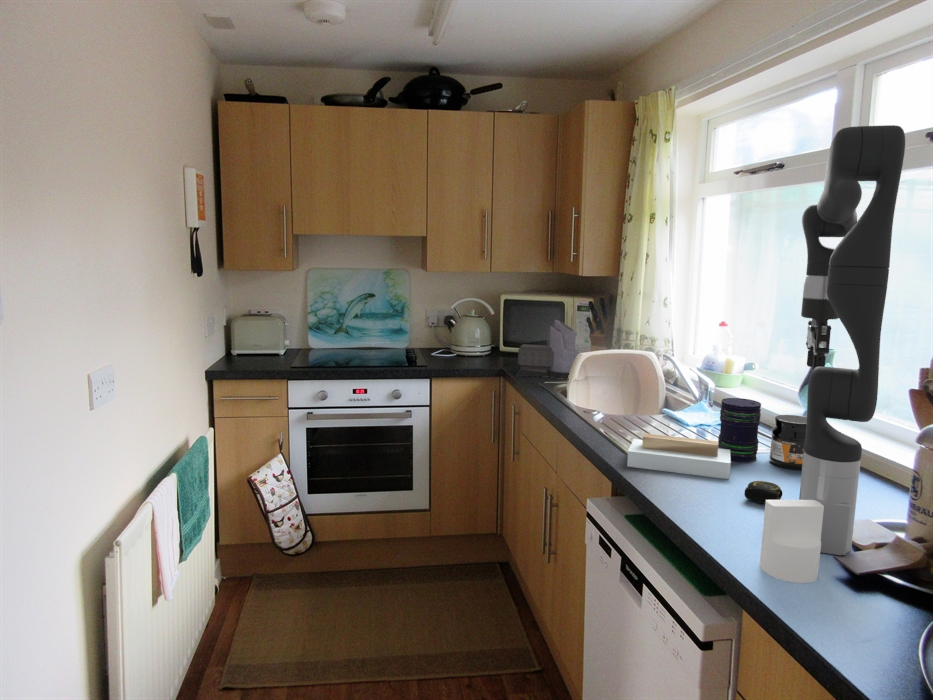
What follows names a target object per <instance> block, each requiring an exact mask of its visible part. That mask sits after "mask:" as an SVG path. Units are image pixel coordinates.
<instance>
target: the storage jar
mask: <svg viewBox="0 0 933 700" xmlns="http://www.w3.org/2000/svg"><path fill="white" fill-rule="evenodd" d="M761 408H762V403H761V402H760V401H758V400H754V399H748V398H741V397H739V398H738V397H729V398H728V397H727V398H722V399H721V405H720V413H719V415H720V416H719V421H720V430H719V431H720V432H719V434H718V437H717V438H718V448H720V449H729V450H730V458H731V463H732V462H733V463H744V464H745V463H748V464H749V463H754V462H756V461H757V460H758V459H757V455H758V451H759V439H758V433H759V425H760V423H761V415H762V413H761V410H762V409H761Z"/></svg>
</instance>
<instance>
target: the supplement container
mask: <svg viewBox="0 0 933 700" xmlns="http://www.w3.org/2000/svg"><path fill="white" fill-rule="evenodd" d="M773 422H774V426H773V427H772V428H771V431H770V432H771V438H770V440H771V441H770V448H769V449H770V451H769V457H768V458H769V461H770V462H771V463H772V464H773V465H775V466H778V467H780V468H784V469H788V470H789V469H790V470H796V471H797V470H799V471H802V465H803V454H804V444H805V435H806V424H807V416H802V415H797V414H796V415H795V414H778V415H776V416H775V417H774V421H773Z"/></svg>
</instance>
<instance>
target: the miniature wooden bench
mask: <svg viewBox="0 0 933 700" xmlns="http://www.w3.org/2000/svg"><path fill="white" fill-rule="evenodd" d="M642 440H643V442H642V448H646V449H653V450H663V451H672V452H680V453H689V454H697V455H705V456H714V457H717V455H718V441H719V440H718V441H717V440H709V439H701V438H700V439H699V438H692V437H691V438H690V437H682V436H672V435H665V434H663V435H662V434H653V433H646V432H644V433H643V435H642Z"/></svg>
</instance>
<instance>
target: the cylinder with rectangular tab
mask: <svg viewBox="0 0 933 700" xmlns="http://www.w3.org/2000/svg"><path fill="white" fill-rule="evenodd" d="M823 511H824V506H823V505H822V504H821V503H820V502H818V501H816V500H799V499H780V500H766V501H765V503H764V512H763V513H764V516H763V524H762V526H763V527H762V531H761V546H760V556H759V568H760V569H761V570H762V571H763V572H764V573H765V574H767V575H769V576H771V577H772V578H775V579H777V580H781V581H785V582H789V583H796V584H806V583H807V584H808V583H812V582H815V581H817V579H818V578H819V570H820V569H819V568H820V560H821V559H820V558H821V552H820V550H821V531H822V521H823Z"/></svg>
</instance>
